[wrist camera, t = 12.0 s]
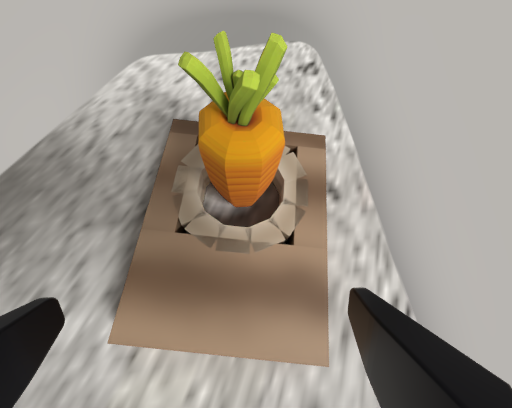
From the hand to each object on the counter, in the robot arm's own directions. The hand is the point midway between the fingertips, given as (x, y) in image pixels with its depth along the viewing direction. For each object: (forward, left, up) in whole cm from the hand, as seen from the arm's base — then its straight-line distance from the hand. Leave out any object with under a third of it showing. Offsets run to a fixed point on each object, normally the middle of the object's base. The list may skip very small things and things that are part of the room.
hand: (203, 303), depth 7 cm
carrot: (+9, 0, -13) cm, 16 cm away
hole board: (+6, 0, -13) cm, 14 cm away
